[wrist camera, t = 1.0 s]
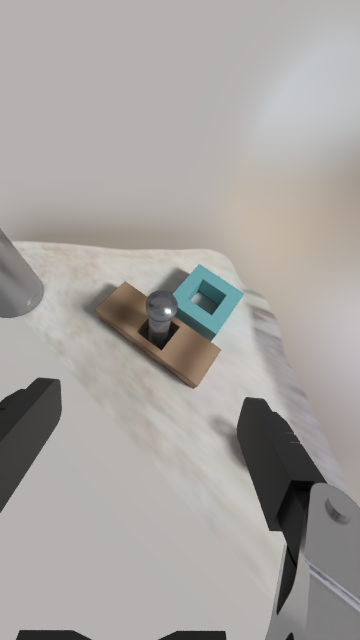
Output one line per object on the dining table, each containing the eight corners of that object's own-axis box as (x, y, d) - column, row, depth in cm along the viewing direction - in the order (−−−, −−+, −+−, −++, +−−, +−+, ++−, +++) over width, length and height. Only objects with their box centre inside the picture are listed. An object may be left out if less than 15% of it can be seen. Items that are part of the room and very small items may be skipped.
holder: (165, 310, 40) (167, 299, 36) (194, 276, 44) (199, 264, 40) (210, 341, 38) (216, 334, 35) (235, 304, 43) (244, 293, 39)
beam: (99, 318, 37) (95, 309, 34) (126, 291, 40) (125, 281, 37) (193, 388, 35) (197, 386, 32) (215, 355, 38) (221, 349, 34)
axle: (141, 338, 37) (138, 306, 26) (155, 321, 39) (159, 285, 28) (159, 352, 36) (165, 325, 26) (173, 334, 38) (184, 302, 27)
